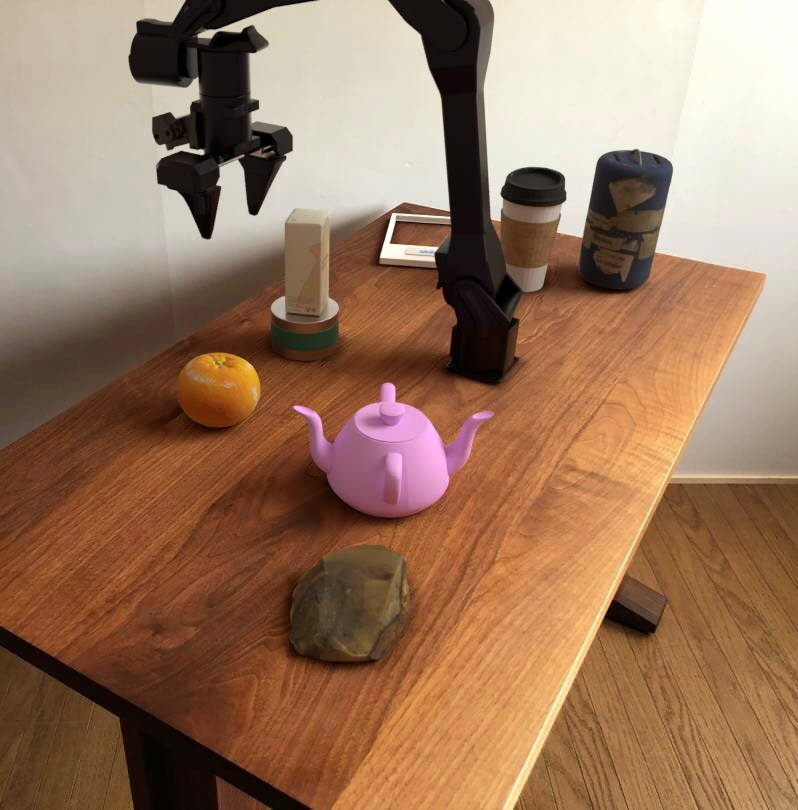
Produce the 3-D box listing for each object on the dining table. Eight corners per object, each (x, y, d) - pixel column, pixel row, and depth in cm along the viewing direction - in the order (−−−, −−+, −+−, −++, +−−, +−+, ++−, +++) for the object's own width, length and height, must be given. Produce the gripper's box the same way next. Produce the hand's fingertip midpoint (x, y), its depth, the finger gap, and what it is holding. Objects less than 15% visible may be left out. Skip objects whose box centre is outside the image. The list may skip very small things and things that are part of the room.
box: (320, 317, 105) (321, 225, 99) (283, 313, 106) (282, 222, 100) (329, 297, 109) (331, 209, 103) (294, 294, 110) (294, 206, 104)
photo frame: (379, 256, 129) (392, 212, 144) (379, 263, 130) (392, 218, 145) (484, 264, 127) (486, 218, 142) (483, 271, 128) (485, 225, 143)
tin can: (350, 340, 111) (352, 303, 108) (314, 368, 105) (315, 329, 102) (295, 323, 115) (295, 287, 112) (257, 349, 109) (256, 311, 106)
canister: (571, 287, 123) (594, 156, 114) (580, 261, 131) (602, 136, 121) (645, 299, 120) (675, 165, 111) (650, 272, 128) (679, 144, 118)
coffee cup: (561, 279, 126) (578, 172, 118) (539, 302, 120) (556, 191, 112) (503, 266, 130) (516, 161, 122) (479, 287, 124) (492, 179, 116)
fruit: (287, 385, 95) (241, 329, 92) (242, 445, 91) (192, 389, 88) (241, 389, 102) (196, 337, 98) (197, 446, 98) (148, 393, 94)
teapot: (292, 483, 87) (292, 404, 82) (398, 432, 94) (403, 357, 89) (378, 548, 79) (383, 465, 74) (485, 487, 86) (496, 408, 81)
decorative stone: (401, 678, 67) (405, 644, 65) (277, 659, 69) (277, 626, 67) (412, 580, 76) (415, 548, 74) (301, 565, 77) (302, 533, 75)
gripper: (218, 66, 110) (224, 191, 119) (111, 99, 97) (126, 236, 106) (295, 78, 105) (295, 208, 114) (193, 114, 92) (201, 258, 100)
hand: (230, 226), depth 108 cm, fingers open, 9 cm apart
